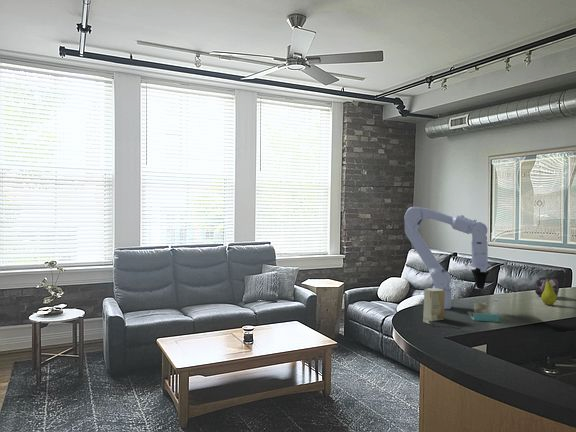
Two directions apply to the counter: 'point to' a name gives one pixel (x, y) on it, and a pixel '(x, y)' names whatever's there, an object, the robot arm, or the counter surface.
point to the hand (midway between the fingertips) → (480, 288)
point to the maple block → (480, 308)
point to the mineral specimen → (542, 282)
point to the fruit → (548, 294)
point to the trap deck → (484, 317)
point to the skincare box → (433, 305)
